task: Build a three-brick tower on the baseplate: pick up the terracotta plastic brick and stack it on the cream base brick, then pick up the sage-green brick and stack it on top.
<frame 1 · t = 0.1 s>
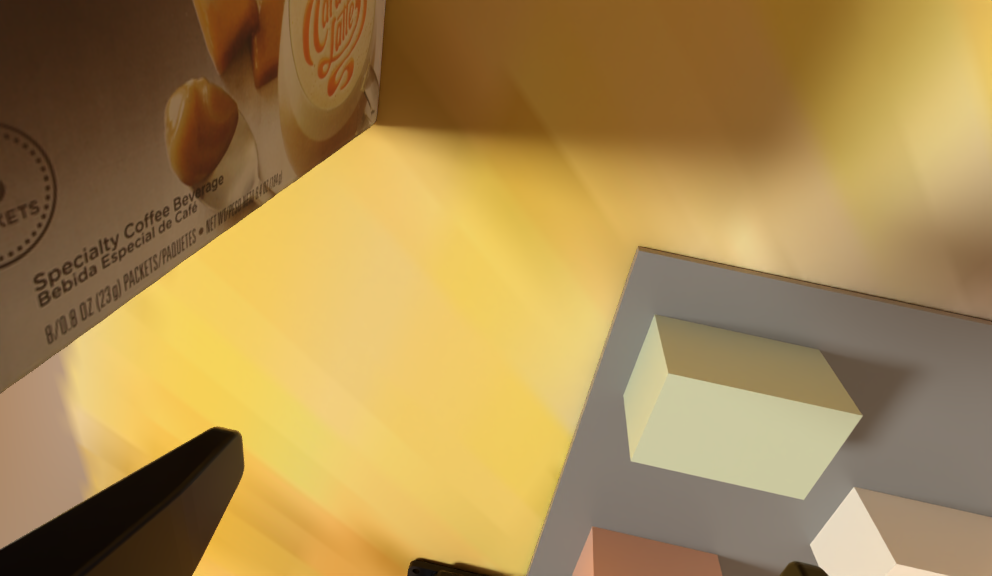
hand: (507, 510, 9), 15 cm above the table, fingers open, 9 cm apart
baseplate: (779, 499, 27), on the table
sage brick: (716, 373, 24), resting on baseplate
terracotta brick: (641, 565, 31), resting on baseplate
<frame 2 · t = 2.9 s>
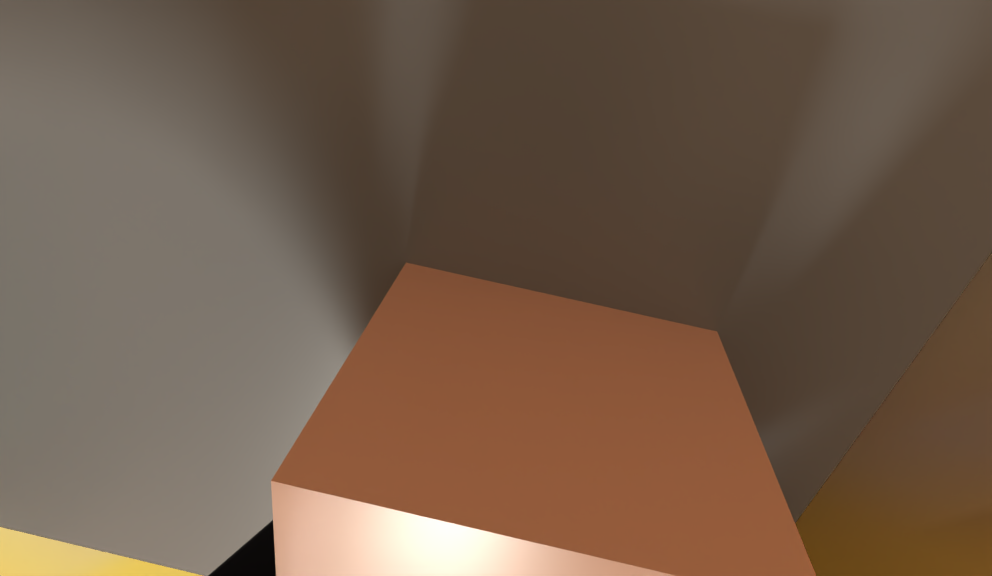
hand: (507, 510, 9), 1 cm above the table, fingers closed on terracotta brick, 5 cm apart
baseplate: (98, 84, 8), on the table
terracotta brick: (514, 462, 10), resting on baseplate, touching gripper
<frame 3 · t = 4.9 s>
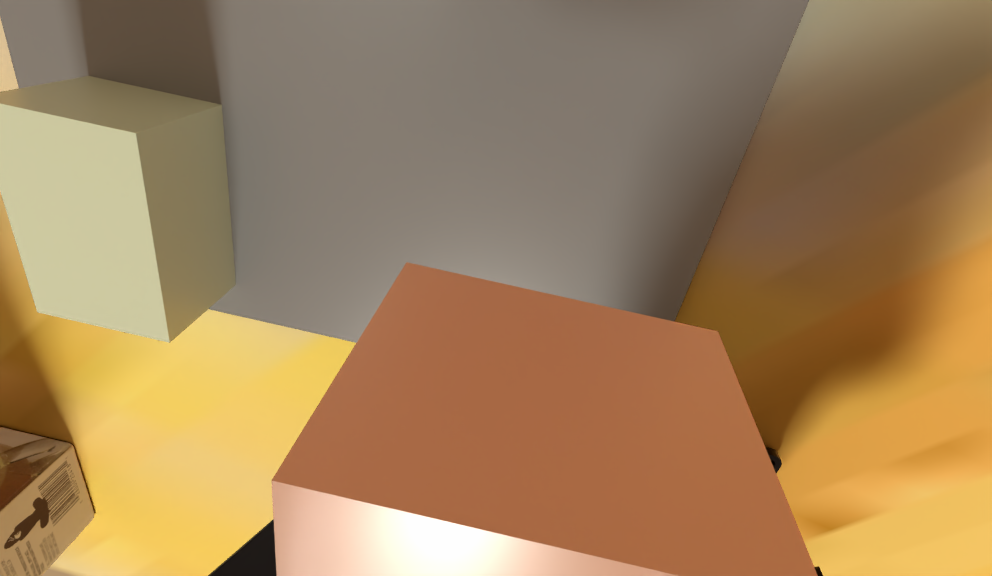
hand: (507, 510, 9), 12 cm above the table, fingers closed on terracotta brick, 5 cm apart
baseplate: (367, 52, 17), on the table
coffee box: (13, 459, 30), on the table
sage brick: (168, 189, 20), resting on baseplate
terracotta brick: (514, 462, 10), point 11 cm above the table, touching gripper
when the fingers open (6 cm above the table, at t = 7.2 s): terracotta brick stays where it is, resting on baseplate.
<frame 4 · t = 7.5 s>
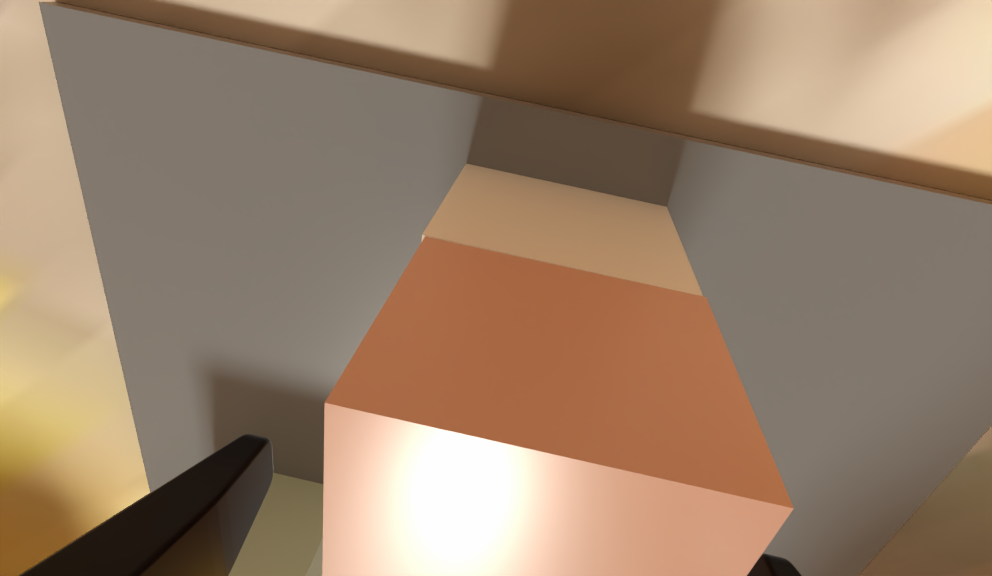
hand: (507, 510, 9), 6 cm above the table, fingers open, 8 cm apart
baseplate: (494, 460, 17), on the table
sage brick: (282, 537, 20), resting on baseplate
terracotta brick: (522, 423, 10), point 4 cm above the table, touching baseplate
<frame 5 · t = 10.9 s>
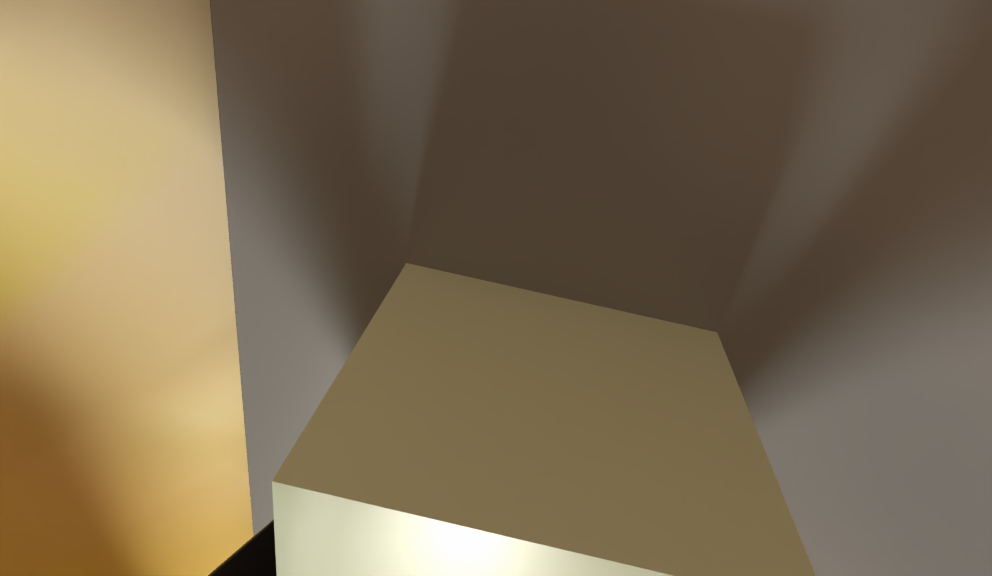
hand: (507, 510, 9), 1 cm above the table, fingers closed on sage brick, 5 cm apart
sage brick: (514, 462, 10), resting on baseplate, touching gripper
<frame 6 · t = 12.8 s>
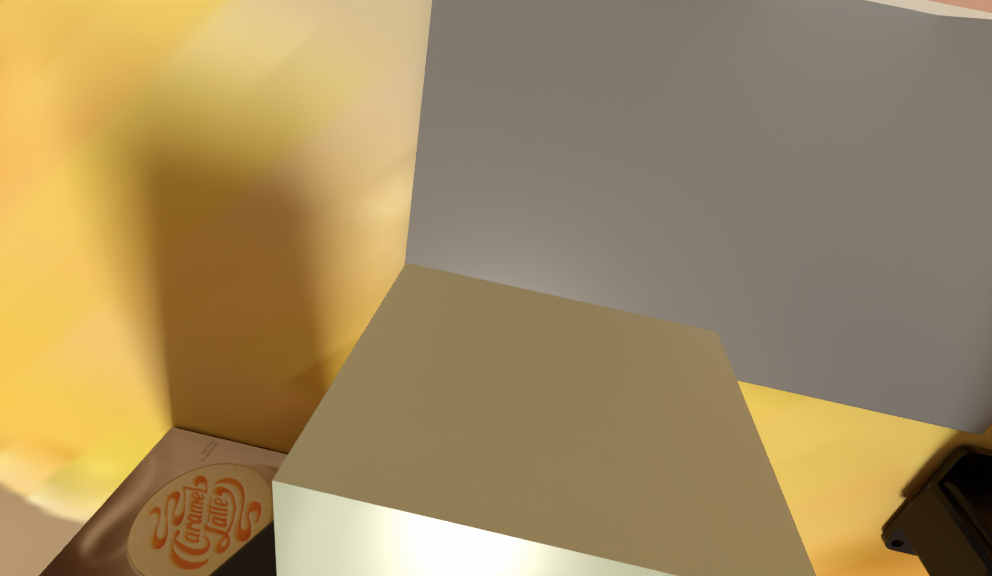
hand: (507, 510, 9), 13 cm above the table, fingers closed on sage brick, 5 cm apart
baseplate: (809, 88, 17), on the table
coffee box: (260, 480, 30), on the table
sage brick: (514, 462, 10), point 12 cm above the table, touching gripper
when the fingers open (10 cm above the table, at t = 14.8 s): sage brick stays where it is, resting on terracotta brick.
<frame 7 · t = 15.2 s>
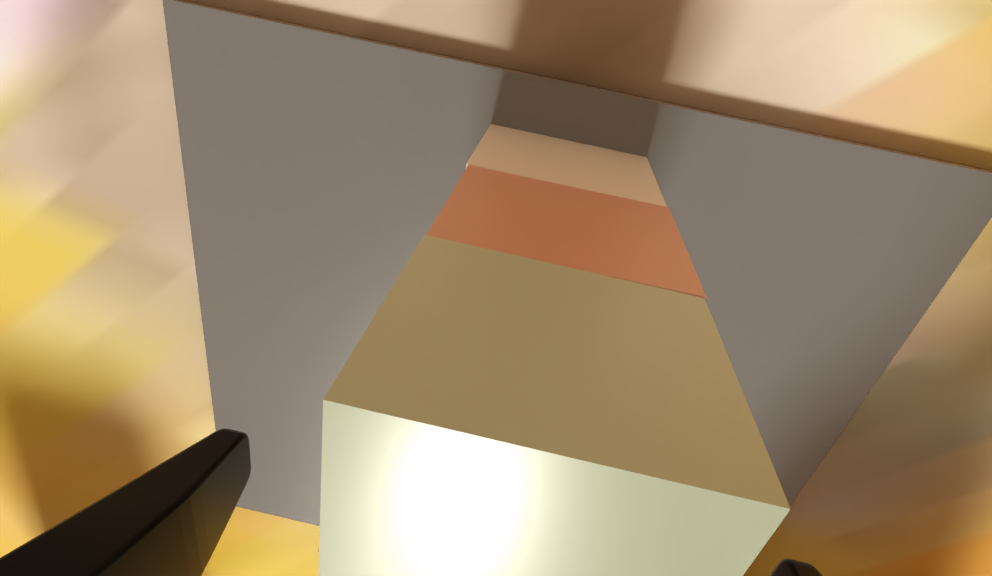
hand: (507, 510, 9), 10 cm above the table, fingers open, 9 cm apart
baseplate: (508, 381, 21), on the table
sage brick: (519, 422, 10), point 8 cm above the table, touching terracotta brick
terracotta brick: (535, 314, 14), point 4 cm above the table, touching baseplate, sage brick
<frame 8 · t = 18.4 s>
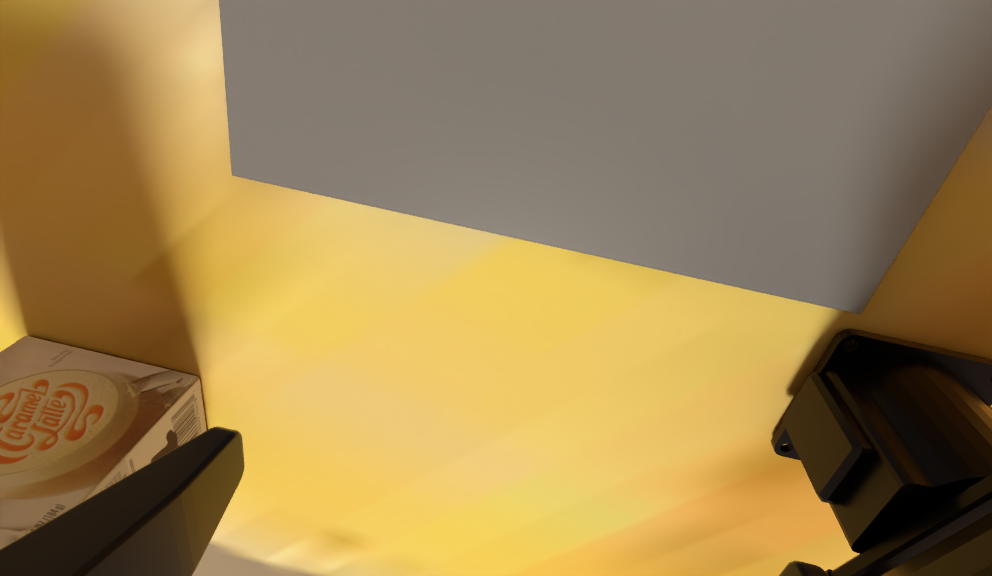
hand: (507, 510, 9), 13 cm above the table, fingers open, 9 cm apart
coffee box: (128, 397, 28), on the table
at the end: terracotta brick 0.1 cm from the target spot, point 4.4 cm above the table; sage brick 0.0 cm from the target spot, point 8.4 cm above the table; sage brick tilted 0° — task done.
